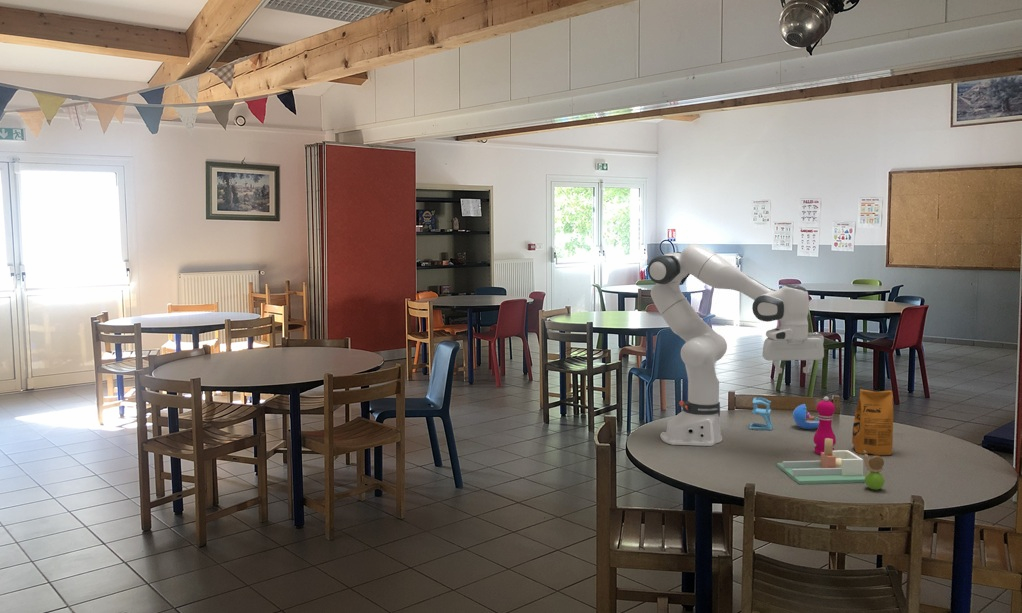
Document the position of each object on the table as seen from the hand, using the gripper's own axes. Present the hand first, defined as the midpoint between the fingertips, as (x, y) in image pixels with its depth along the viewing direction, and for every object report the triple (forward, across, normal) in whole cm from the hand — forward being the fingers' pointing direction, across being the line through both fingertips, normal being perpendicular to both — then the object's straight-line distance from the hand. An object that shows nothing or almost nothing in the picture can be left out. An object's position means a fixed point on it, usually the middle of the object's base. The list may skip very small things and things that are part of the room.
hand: (792, 372), depth 266 cm
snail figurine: (+29, -11, +35) cm, 47 cm away
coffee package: (+29, -30, -2) cm, 42 cm away
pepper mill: (+29, -13, -2) cm, 32 cm away
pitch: (+29, -2, +20) cm, 35 cm away
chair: (+29, -3, -35) cm, 46 cm away
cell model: (+29, -21, -33) cm, 49 cm away
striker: (+27, -4, +20) cm, 34 cm away
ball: (+26, -8, +20) cm, 34 cm away
